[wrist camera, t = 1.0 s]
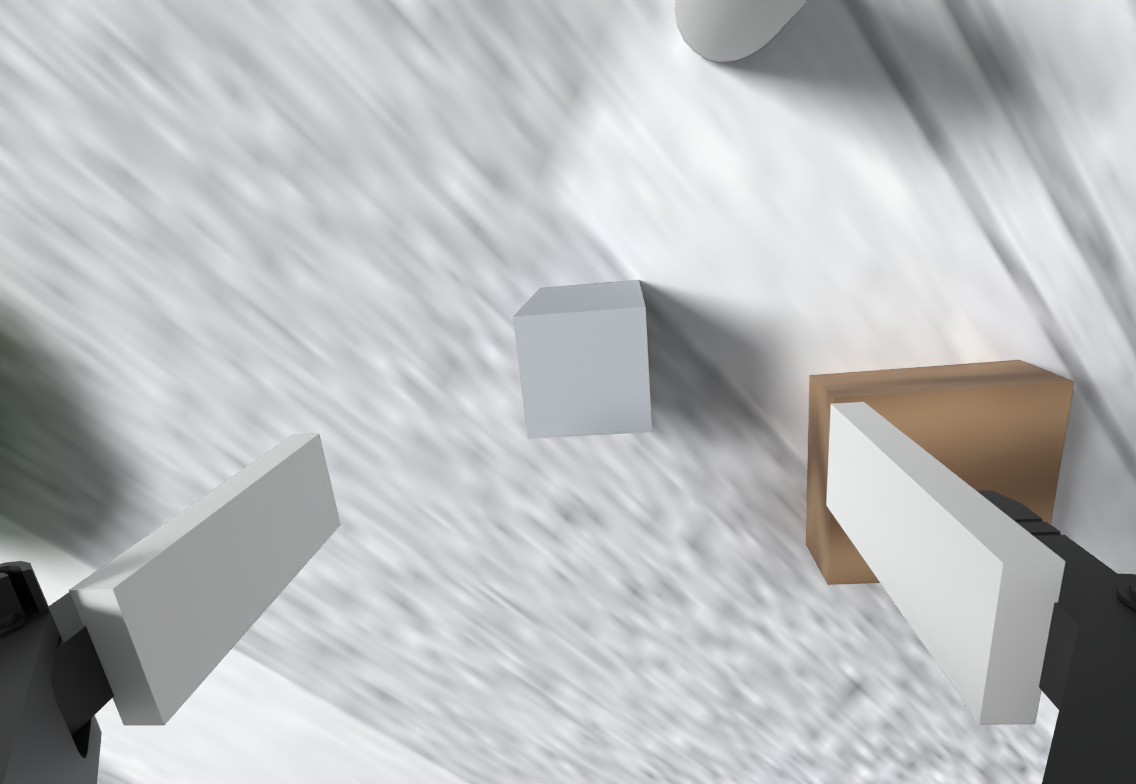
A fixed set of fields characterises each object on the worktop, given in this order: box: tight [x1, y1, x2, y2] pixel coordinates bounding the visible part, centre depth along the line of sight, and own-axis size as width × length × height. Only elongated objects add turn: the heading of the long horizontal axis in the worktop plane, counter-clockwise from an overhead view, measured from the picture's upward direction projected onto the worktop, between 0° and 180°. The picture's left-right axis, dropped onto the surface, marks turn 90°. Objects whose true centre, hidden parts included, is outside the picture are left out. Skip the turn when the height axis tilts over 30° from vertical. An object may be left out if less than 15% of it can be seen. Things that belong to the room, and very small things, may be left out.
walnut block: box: [806, 360, 1074, 585], centre depth 29 cm, size 10×10×4 cm
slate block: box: [513, 280, 652, 439], centre depth 26 cm, size 5×5×8 cm
